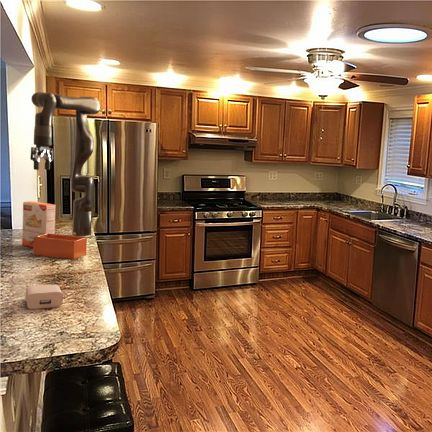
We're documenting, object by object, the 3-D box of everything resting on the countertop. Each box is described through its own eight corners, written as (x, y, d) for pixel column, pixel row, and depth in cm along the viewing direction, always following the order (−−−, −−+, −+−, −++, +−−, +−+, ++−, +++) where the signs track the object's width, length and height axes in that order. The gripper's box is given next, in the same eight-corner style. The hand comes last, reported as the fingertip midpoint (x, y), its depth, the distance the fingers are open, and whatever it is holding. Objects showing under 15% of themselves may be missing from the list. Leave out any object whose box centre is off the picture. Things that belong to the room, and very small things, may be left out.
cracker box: (21, 245, 218) (22, 201, 215) (32, 243, 223) (33, 200, 221) (44, 249, 213) (45, 205, 211) (54, 248, 219) (56, 204, 217)
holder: (47, 250, 213) (48, 233, 212) (86, 254, 212) (87, 237, 211) (33, 254, 203) (33, 236, 202) (73, 259, 201) (74, 241, 200)
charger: (55, 292, 154) (62, 306, 142) (24, 295, 149) (27, 309, 137) (56, 279, 154) (62, 291, 141) (24, 280, 148) (28, 293, 136)
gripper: (41, 135, 211) (40, 170, 213) (59, 137, 225) (58, 170, 227) (25, 133, 212) (24, 169, 214) (44, 135, 226) (43, 168, 228)
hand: (41, 169), depth 220 cm, fingers open, 8 cm apart
